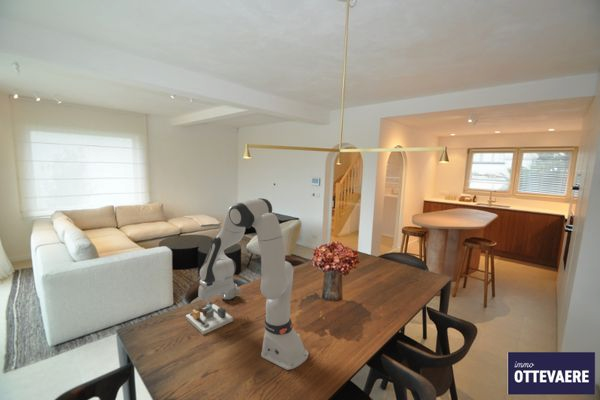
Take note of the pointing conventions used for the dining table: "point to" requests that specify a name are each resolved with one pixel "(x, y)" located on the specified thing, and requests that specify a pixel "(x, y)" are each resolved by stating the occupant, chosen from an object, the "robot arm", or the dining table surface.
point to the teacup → (231, 293)
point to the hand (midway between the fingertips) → (217, 301)
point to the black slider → (221, 312)
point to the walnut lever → (201, 310)
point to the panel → (209, 320)
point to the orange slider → (195, 314)
